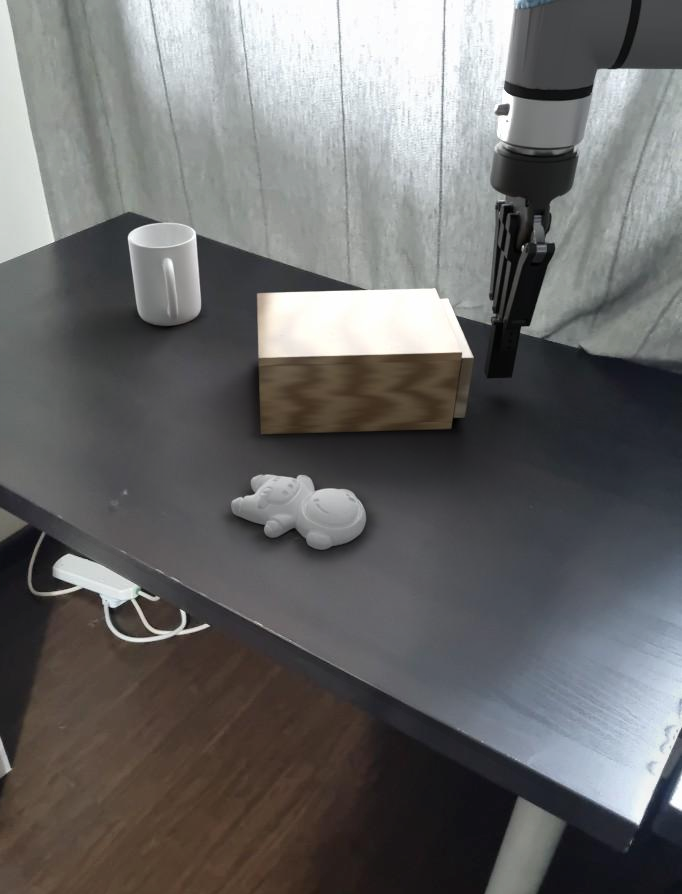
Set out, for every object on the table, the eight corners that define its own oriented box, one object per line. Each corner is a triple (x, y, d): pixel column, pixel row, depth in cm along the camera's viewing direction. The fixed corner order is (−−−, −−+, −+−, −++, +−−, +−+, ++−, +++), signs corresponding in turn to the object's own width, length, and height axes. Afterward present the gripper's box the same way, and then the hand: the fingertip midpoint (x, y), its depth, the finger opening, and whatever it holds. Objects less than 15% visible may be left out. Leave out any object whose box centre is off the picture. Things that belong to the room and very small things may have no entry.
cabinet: (427, 359, 97) (435, 288, 91) (451, 429, 86) (462, 352, 80) (259, 364, 97) (256, 292, 91) (260, 434, 86) (258, 357, 80)
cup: (197, 295, 111) (191, 219, 105) (210, 336, 102) (204, 256, 96) (135, 302, 110) (125, 225, 103) (143, 343, 101) (132, 262, 94)
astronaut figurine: (268, 471, 81) (267, 446, 79) (380, 509, 76) (382, 482, 74) (219, 521, 75) (217, 495, 73) (337, 565, 70) (338, 538, 68)
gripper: (480, 125, 80) (452, 347, 95) (514, 166, 70) (476, 407, 85) (558, 122, 80) (517, 345, 95) (602, 163, 70) (548, 404, 85)
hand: (497, 374), depth 90 cm, fingers closed
